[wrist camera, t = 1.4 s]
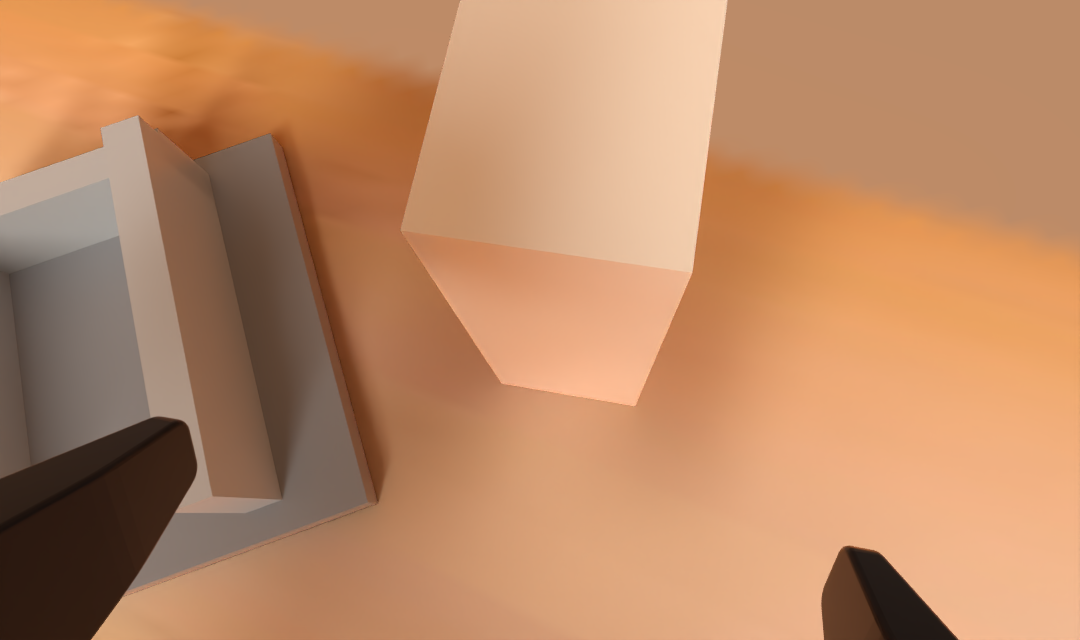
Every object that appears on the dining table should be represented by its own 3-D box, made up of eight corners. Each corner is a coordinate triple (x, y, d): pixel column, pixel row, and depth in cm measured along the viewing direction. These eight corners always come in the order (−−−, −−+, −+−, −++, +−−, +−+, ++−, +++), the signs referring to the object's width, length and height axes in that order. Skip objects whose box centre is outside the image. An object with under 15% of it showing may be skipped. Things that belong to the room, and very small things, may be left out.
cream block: (635, 406, 22) (692, 272, 10) (501, 383, 22) (400, 230, 10) (655, 265, 23) (728, -5, 11) (529, 247, 24) (467, -30, 12)
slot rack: (378, 502, 21) (316, 499, 17) (-41, 657, 21) (-228, 699, 16) (282, 147, 25) (211, 62, 21) (-70, 270, 25) (-227, 212, 20)
